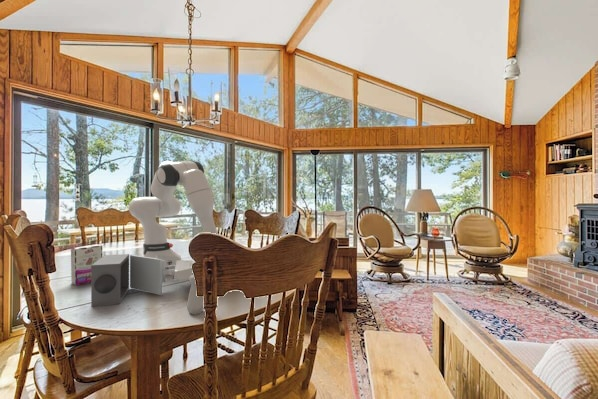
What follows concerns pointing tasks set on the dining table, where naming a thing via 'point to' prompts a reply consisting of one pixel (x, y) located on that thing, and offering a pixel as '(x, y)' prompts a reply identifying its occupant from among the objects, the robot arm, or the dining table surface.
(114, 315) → the dining table surface
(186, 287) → the dining table surface
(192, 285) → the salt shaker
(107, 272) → the housing
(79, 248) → the candy bar box
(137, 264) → the door
